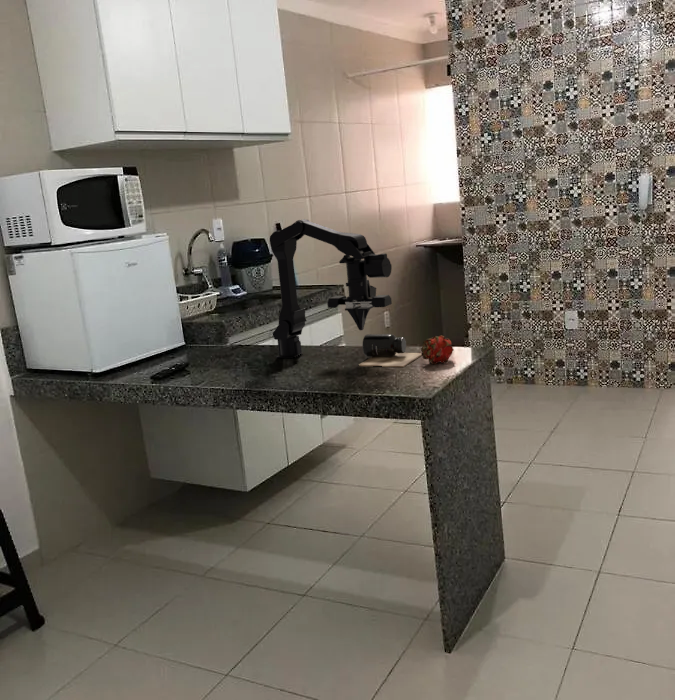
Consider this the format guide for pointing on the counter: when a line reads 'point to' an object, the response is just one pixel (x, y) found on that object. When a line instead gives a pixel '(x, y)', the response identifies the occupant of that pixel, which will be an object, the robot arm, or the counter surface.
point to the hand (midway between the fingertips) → (361, 330)
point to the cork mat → (392, 360)
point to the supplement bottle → (383, 345)
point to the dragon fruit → (437, 349)
